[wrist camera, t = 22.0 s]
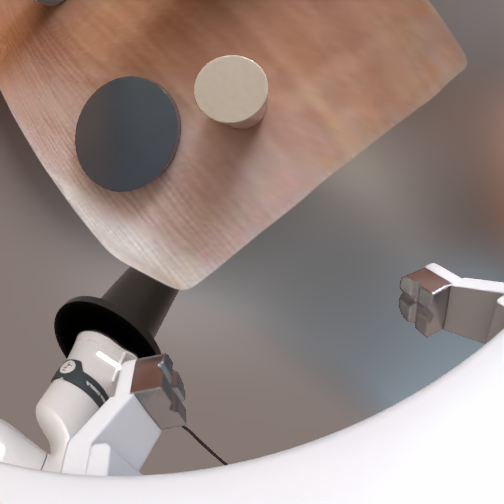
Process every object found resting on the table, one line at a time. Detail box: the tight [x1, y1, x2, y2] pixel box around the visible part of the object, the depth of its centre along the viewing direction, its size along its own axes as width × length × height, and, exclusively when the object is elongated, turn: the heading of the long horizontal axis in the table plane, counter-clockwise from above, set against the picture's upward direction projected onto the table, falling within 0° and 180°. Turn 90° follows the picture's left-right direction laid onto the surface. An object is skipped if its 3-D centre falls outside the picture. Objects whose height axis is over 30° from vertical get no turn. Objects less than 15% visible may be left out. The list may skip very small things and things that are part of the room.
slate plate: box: [75, 76, 181, 192], centre depth 33 cm, size 16×16×2 cm
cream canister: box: [194, 55, 268, 129], centre depth 27 cm, size 6×6×12 cm
